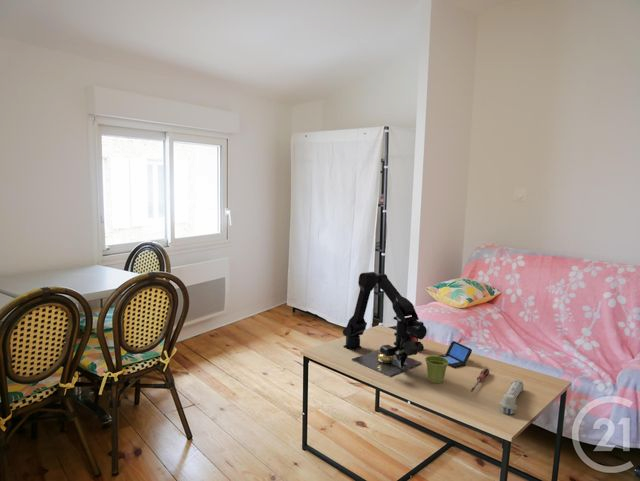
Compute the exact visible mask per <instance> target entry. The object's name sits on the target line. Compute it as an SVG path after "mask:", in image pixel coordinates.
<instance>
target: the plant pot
mask: <svg viewBox="0 0 640 481" xmlns="http://www.w3.org/2000/svg"><path fill="white" fill-rule="evenodd" d="M424 360H425V364H426V371H427V380H428V381H429V382H431V383H433V384H441V383H443V382H444V379H445V374H446V371H447V367H448V364H449V361H448V360H447V359H446V358H443V357H440V355H428V356H426V357H425V358H424Z"/></svg>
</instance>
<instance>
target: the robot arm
mask: <svg viewBox="0 0 640 481" xmlns="http://www.w3.org/2000/svg"><path fill="white" fill-rule="evenodd" d="M377 285H378V286H379V287H380V289H381V290H382V292H384V295H386V297H387V298H388V299H389V300H390V302H391V304H392V310H393V311H394V313H395V316H394V317H392V318H393V320H395V321H396V330H395V331H396V332H394V335H393V336H394V337H395V341H394V342H393V345H394V346H392V345H391V344H383V345H381V346H380V348H379V349H380V352H381V353H383V354H385V355H386V356H394V355H395V356H396V359H397V361H398V364H399V367H400V368H402V367H403V365H404V362H405V360H406V358H407V357H409V356H416V355H417V354H418V352H419V353H421V352H424V350H425V349H424V348H425V346H424V344H423V343H422V342H421V341H419V340H423V339H424V338H425V337H426V336H427V332H428V329H427V327H426V326H425V325H424V322H423V321H419V320H420V318H419V316H418V314H417V312H416V309H415V305H414V304H413V303H412V302H411V301H410V300H409V299H407V298H405V297H403V295H401V293H400V292H399V291H398V289H397V288H396V287H395V285H393V284H392V282H391V281H390V279H389V277H388V276H387V274H385V273H376V272H374V271H367V272H361V273H360V274H359V276H358V286H359V292H358V297H357V300H356V303H355V309H354V312H353V315H352V317H350V319H349V320H348V322H347V325H346V327H344V329H343V330H342V335H343V336H345V344H344V345H343V347H344V348H346V349H348V350H351V351H355V350H358V349H361V348H362V346H361V339H360V338H361V336H362V335H364V331H366V330H367V329H366V328H367V324H368V323H367V322H366V321H365V314H366V310H367V307H368V302H369V299H370V295H371V293H372V291H373V290H374V289H375V288H376V286H377ZM412 336H413V337H415V338H418V342H417V341H412Z"/></svg>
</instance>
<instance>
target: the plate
mask: <svg viewBox="0 0 640 481" xmlns="http://www.w3.org/2000/svg"><path fill="white" fill-rule="evenodd" d="M378 351H380V348H379V349H376V350H373V351H370V352H367V353H365V354H362V355H359V356H357V357H353V358H351V361H353V362H355V363H357V364H359V365H362V366H363V367H366V368H369V369H371V370H373V371H376V372H378V373H380V374H383V375H384V376H387V377H393V376H395V375H398V374H401V373H403V372H404V371H406V370H404V369H402V368H400V367H398V366H396V365H393V364H392V363H383V362H380V361H378ZM405 362H406V363H408V364H409V370H410V369H412V368H414V367H416V366H419V365H421V364H422V363H423V362H421V361H419V360H417V359H414V358H410V357H409V356H408V357H407V358H406V360H405Z"/></svg>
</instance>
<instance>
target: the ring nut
mask: <svg viewBox="0 0 640 481" xmlns="http://www.w3.org/2000/svg"><path fill="white" fill-rule="evenodd" d="M378 361H380V362H383V363H392V364H394V365H396V366H398V367H399V364H398V361H397V359H396V356H395V355H394V356H386V355H385V354H383V353H381V352H380V351H378ZM402 369H404V370H405V371H409V370H410V369H409V364H408V363H406V362H404V365H403V367H402Z"/></svg>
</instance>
